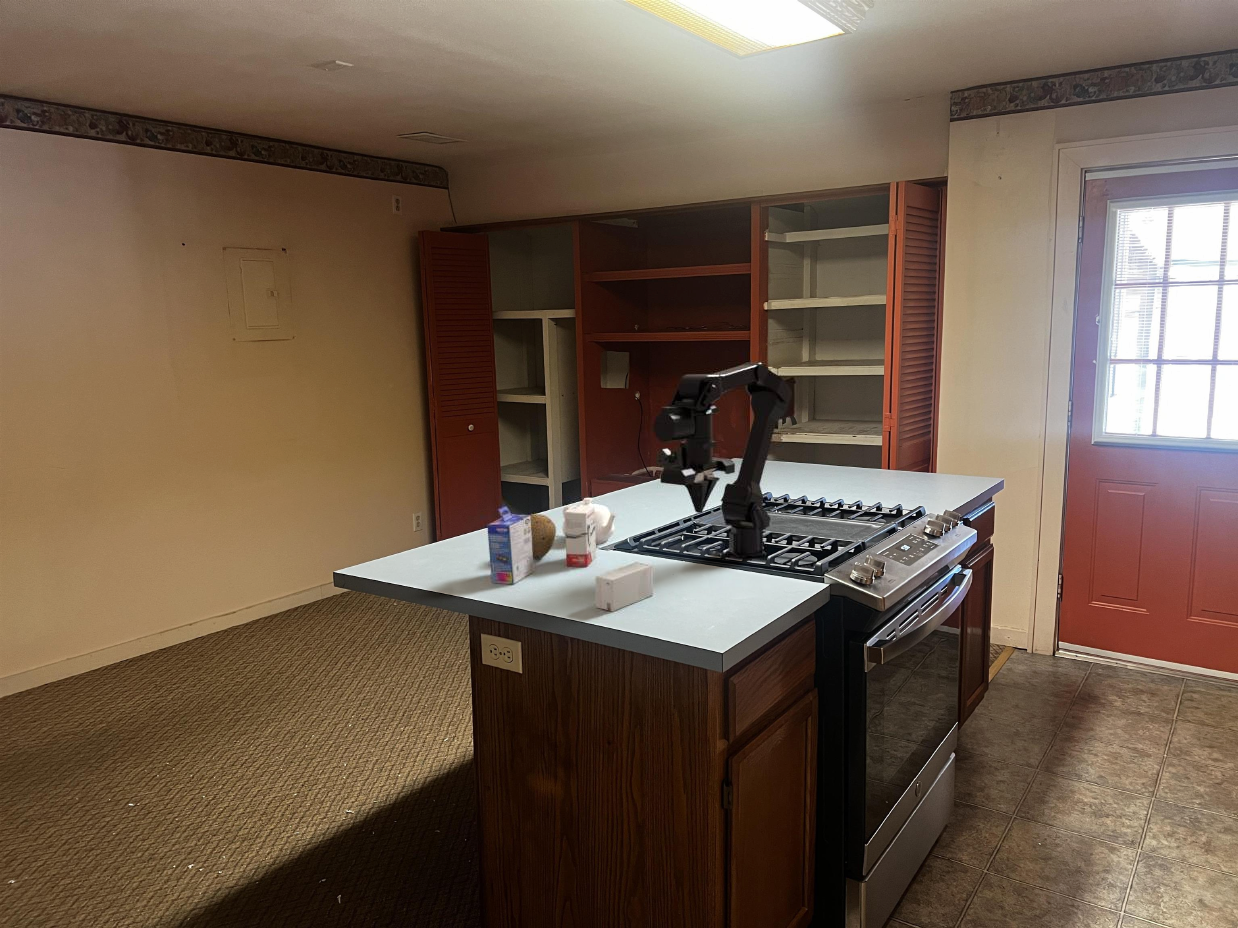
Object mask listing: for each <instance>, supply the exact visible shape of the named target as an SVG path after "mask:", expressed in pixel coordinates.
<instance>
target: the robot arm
mask: <svg viewBox="0 0 1238 928" xmlns="http://www.w3.org/2000/svg"><path fill="white" fill-rule="evenodd" d="M744 386H745V387H744ZM741 387H744V388H745V389H744V390H745V391H746V393H747V394H748V395H749V396H750V403H749V404H750V408H751V412H752V415H753V418H752V423H751V427H750V430H749V434H748V438H747V442H746V445H745V449H744V453H743V457H742V460H741V462H740V463H741V464H740V468H739V470H738V475H737V479H735V481H734V482H732V483H726V485H725V486H724V491H723V494H722V495H723V496H722V497H721V499H720V501H721V506H720V507H721V508H720V509H721V512H722V516H723V521H724V523H725V526H731V528H730V529H731V532H729V533H728V536H729V537H728V540H729V541H728V544H729V545H728V548H727V549H728V552H729V553H731V554H732V555H734V556H735V557H737V558H747V557H746V556H752V557H760V556H767V552H765V551H764V530H766V529H767V528H769V526H770V523H771V516H770V515H769V514H768V512H767V511H766V509H765V508H764V507H763V503H764V495H763V492H762V489H761V486H760V485H761V481H762V477H763V473H764V470H765V466H766V462H767V457H768V455H769V451H770V447H771V443H772V440H773V435H774V431H775V427H776V423H777V422H778V421H779V420H780V419H781V418H782V417H783V416H784V415H785V414H786V413H787V411H788V407H790V402H791V400H792V397H793V392H792V388H791V387H790V385H789V384H788V383H787V382H786V381H785V380H784V379H783V377H781V376H780V375H778V374H776V373H775V372H773V371H771V370H770V369H769V368H768V366H767V365H766V364H764V363H762V362H745V363H743V364H741V365H738V366H736V367H731V368H728V369H724V370H721V371H718V372H715V373H710V374H685V375H683V376H681V378H680V382H679V383H678V385H677V388H676V390H675V391H674V393H673V396H672V398H671V400H670V401H669V404H668V406H661V408H660V414H658V415H657V416H656V417H655V419H654V423H653V425H652V426H653V427H652V428H653V432H654V435H655V437H656V438H657V439H658V440H659V442H662V443H670V442H675V441H680V442H679V443H678V449H677V450H672V451H671V450H669V448H663V449H660V450H657V453H656V454H657V456H656V460H657V461H656V463H657V464H658V466H660V467H663V469H662V470H661V471H660V473H659V477H660V478H659V479H660V481H659V482H660V483H661V484H668V485H676V486H684V487H685V488H686V490H687V491H688V494H689V497H690V500H691V502H692V506H693V508H694V511H695V513H699V514H700V513H702V512H703V511H704V509H705V506H706V504H707V502H708V500H709V498H710V496H711V494H712V492H713V490H714V488H715V486H716V484H717V483H718V482H719V481H720V477H716V476H715V473H714V472H724V474H726V475H730V474H734V473H735V472H736V471H735V470H736V464H735V462H734V461H733V460H732V458H731V459H730V458H722V457H713V448H715V447H717V446H718V444H717V441H713V414H718V413H720V410H719V408H718V407H716V406H715V405H714V402H715V401H717V400H719V399H720V398H721V397H722V395H723V394H724V393H726V392H728V391H731V390H735V389H738V388H741ZM682 440H683V441H682Z"/></svg>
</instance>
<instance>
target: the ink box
mask: <svg viewBox="0 0 1238 928" xmlns="http://www.w3.org/2000/svg"><path fill="white" fill-rule="evenodd" d="M569 507H570V508H569V509H568V510H566V511H565V518H564V520H565V534H566V536H565V553H566V554H565V560H566V561H565V564H566V565H565V566H566V567H589V565H590V564H591V563H592V562H593V561H594V560H595V558H597V546H596V545H597V544H596V537H595V506H586V505H582V504H573V505H571V506H569Z"/></svg>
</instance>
